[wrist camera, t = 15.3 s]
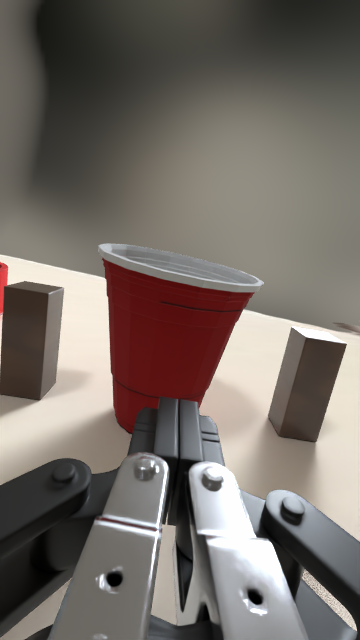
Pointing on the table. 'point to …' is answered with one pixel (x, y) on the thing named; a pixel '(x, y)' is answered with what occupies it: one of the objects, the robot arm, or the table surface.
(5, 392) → the post
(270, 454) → the table surface
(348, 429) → the table surface
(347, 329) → the table surface
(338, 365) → the post
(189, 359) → the plastic cup
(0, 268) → the toy clock
